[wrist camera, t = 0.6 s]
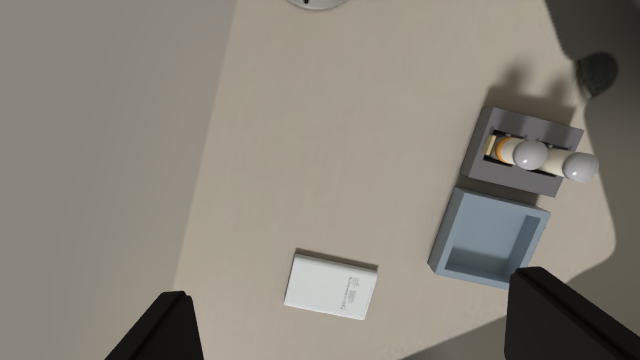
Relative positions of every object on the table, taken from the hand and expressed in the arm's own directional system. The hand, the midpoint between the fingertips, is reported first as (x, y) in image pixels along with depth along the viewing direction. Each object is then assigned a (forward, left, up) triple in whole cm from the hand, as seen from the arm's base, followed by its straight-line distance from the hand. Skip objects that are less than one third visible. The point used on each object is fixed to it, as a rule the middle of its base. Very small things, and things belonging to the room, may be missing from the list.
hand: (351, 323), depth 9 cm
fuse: (-6, +27, -33) cm, 43 cm away
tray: (+6, +24, -33) cm, 41 cm away
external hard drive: (+19, +5, -34) cm, 39 cm away
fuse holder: (-6, +24, -33) cm, 41 cm away
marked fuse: (-6, +21, -33) cm, 40 cm away
